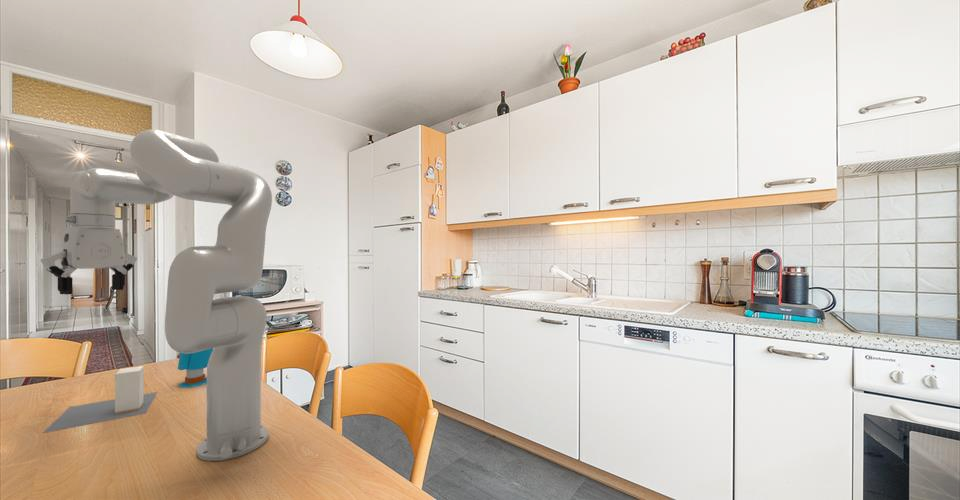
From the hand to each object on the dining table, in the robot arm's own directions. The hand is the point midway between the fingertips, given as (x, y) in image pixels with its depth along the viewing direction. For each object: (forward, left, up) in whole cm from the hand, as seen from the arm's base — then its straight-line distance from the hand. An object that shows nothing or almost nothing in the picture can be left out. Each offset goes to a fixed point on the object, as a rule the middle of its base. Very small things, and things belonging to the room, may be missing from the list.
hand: (93, 291), depth 87 cm
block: (+1, -6, -31) cm, 31 cm away
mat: (+3, -2, -31) cm, 31 cm away
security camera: (+14, -19, -31) cm, 39 cm away
